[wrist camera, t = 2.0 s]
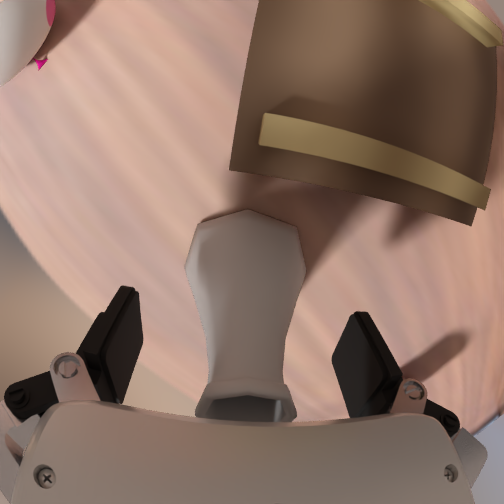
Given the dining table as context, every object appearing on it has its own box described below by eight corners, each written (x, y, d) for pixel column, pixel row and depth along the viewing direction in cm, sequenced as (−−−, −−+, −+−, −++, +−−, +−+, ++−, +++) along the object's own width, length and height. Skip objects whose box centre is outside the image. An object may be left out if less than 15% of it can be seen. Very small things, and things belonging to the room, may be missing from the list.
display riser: (467, 32, 9) (508, 24, 5) (444, 210, 15) (486, 236, 11) (272, -48, 8) (280, -90, 4) (232, 162, 14) (226, 176, 10)
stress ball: (81, 6, 11) (32, -32, 4) (86, 31, 9) (13, -23, 2) (19, 75, 12) (-32, 48, 6) (8, 126, 10) (-64, 97, 4)
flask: (182, 206, 15) (100, 325, 6) (313, 210, 15) (396, 331, 6) (189, 312, 18) (158, 449, 9) (298, 315, 18) (328, 451, 9)
